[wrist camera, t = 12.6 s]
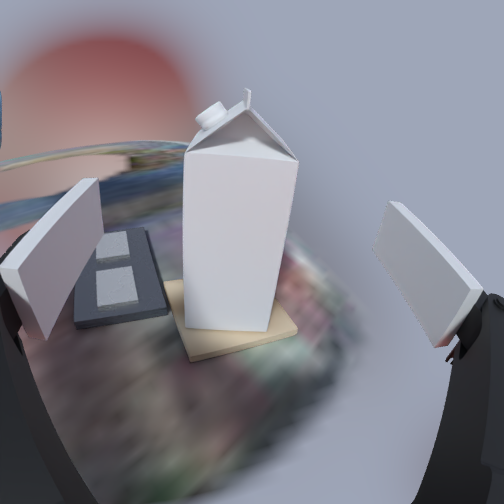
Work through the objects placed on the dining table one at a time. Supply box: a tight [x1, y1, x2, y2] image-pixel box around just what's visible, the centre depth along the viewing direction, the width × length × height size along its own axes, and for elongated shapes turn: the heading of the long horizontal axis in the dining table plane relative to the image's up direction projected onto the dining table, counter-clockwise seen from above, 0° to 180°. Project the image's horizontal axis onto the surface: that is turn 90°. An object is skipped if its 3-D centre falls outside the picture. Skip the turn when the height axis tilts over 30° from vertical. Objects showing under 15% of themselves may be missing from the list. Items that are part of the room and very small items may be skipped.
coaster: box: [164, 279, 298, 363], centre depth 29 cm, size 10×10×1 cm
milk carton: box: [183, 88, 299, 332], centre depth 24 cm, size 7×7×19 cm
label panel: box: [74, 227, 168, 330], centre depth 31 cm, size 16×9×1 cm, turn 25°
